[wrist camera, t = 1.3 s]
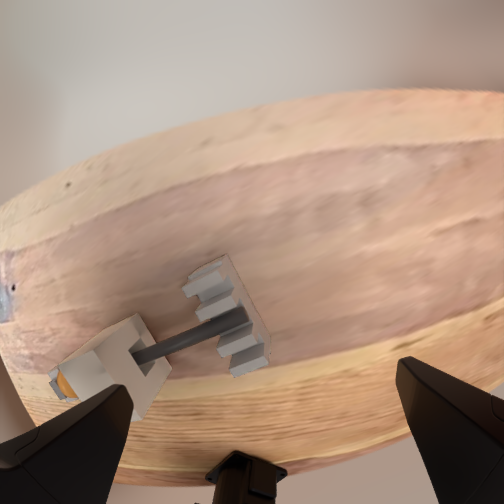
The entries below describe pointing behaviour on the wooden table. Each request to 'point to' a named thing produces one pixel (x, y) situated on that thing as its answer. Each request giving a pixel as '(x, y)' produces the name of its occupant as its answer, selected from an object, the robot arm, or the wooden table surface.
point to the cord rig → (208, 325)
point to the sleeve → (117, 365)
